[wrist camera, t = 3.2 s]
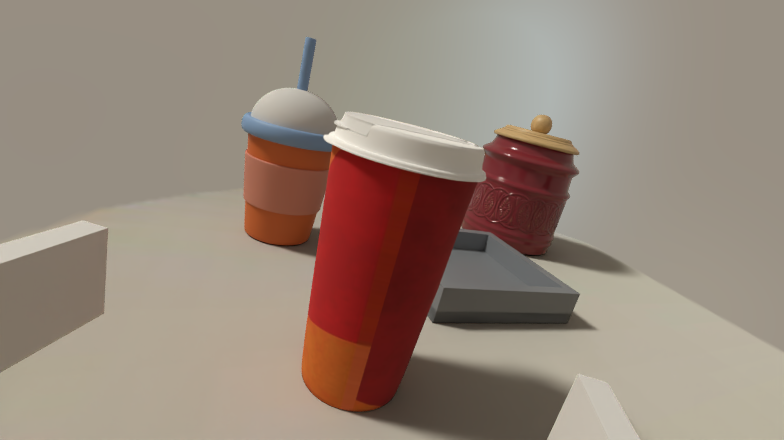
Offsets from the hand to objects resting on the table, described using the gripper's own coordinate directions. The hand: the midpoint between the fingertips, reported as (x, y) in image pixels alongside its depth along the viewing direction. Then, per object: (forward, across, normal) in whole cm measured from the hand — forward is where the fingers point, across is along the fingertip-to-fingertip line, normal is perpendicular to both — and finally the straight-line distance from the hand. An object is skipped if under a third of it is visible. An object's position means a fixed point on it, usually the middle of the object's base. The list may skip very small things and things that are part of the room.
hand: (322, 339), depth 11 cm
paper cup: (+10, 0, -9) cm, 13 cm away
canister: (+48, +13, -9) cm, 50 cm away
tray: (+28, +7, -8) cm, 30 cm away
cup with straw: (+26, -12, -9) cm, 30 cm away
